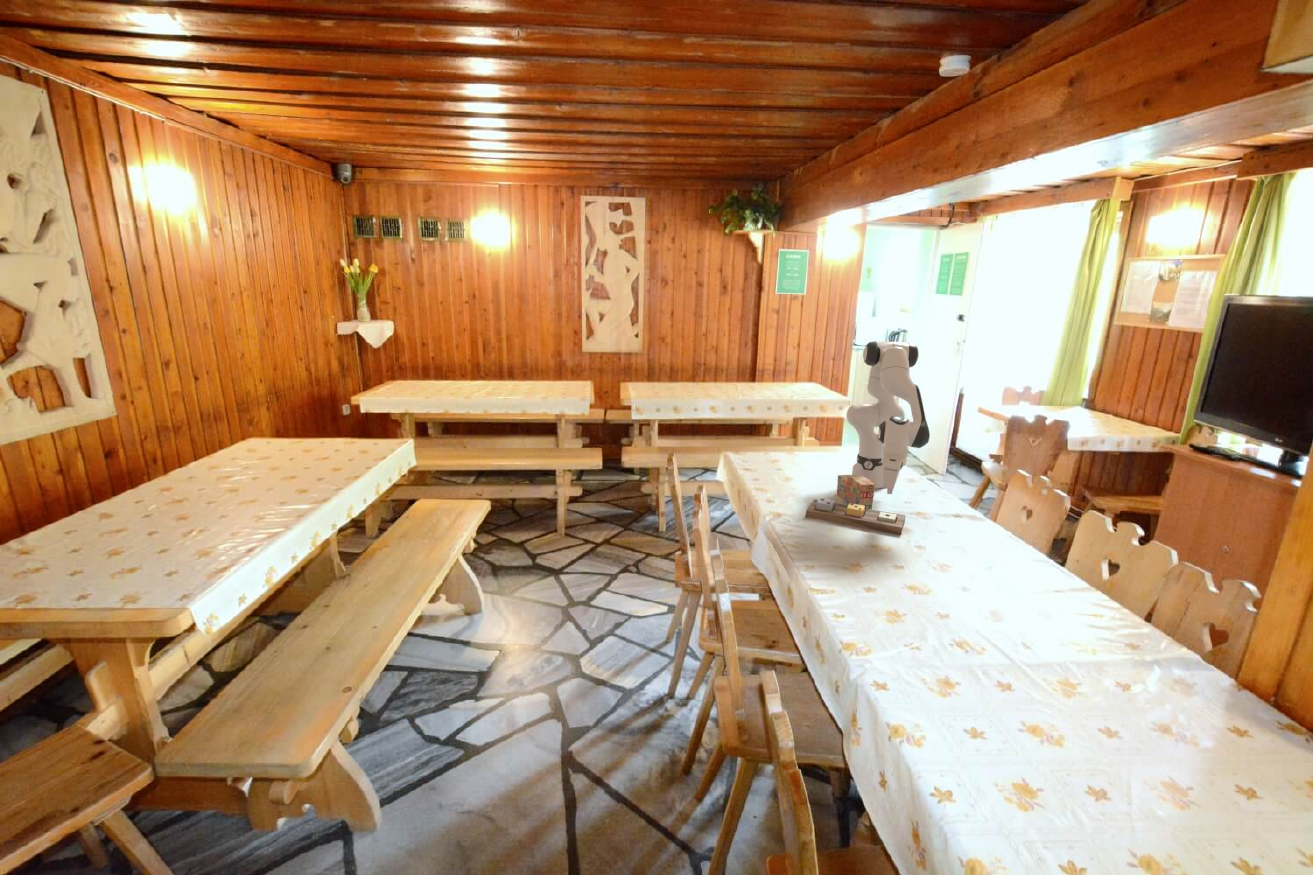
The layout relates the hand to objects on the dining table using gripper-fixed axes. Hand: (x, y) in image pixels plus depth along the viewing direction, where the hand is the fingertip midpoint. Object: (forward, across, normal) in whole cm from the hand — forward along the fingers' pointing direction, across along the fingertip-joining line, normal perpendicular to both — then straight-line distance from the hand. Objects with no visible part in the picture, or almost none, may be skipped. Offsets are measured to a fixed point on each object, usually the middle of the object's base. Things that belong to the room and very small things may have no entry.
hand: (889, 493), depth 225 cm
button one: (+13, 0, 0) cm, 13 cm away
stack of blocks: (+14, -20, -16) cm, 29 cm away
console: (+14, 0, -12) cm, 18 cm away
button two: (+12, 0, -24) cm, 27 cm away
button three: (+12, 0, -12) cm, 17 cm away
